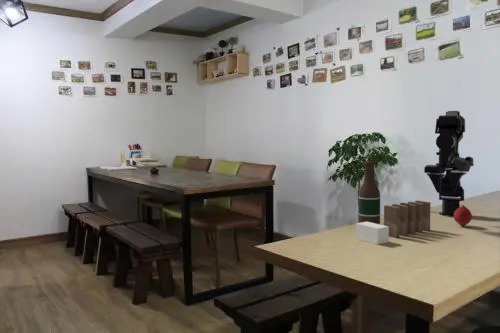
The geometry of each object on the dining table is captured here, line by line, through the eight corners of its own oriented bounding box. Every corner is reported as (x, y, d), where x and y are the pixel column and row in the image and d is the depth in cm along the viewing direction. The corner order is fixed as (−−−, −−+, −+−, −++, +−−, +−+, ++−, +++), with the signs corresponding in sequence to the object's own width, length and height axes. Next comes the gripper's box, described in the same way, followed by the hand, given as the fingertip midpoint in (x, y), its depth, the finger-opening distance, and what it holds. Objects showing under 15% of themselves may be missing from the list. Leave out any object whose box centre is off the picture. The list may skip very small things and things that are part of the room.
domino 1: (387, 234, 141) (387, 205, 140) (399, 237, 137) (399, 207, 136) (383, 235, 140) (384, 205, 139) (396, 238, 136) (396, 207, 135)
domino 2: (395, 232, 143) (395, 203, 142) (407, 235, 139) (407, 205, 138) (391, 233, 142) (392, 204, 141) (404, 236, 138) (404, 206, 137)
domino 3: (402, 231, 145) (403, 202, 144) (415, 234, 141) (415, 204, 140) (399, 231, 144) (400, 203, 143) (412, 234, 140) (412, 205, 139)
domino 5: (417, 228, 149) (418, 200, 148) (430, 230, 145) (430, 202, 144) (414, 228, 148) (415, 200, 147) (427, 231, 144) (427, 202, 143)
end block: (366, 236, 138) (366, 221, 138) (388, 242, 131) (388, 226, 130) (355, 238, 136) (355, 223, 136) (377, 244, 128) (377, 228, 128)
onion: (467, 224, 153) (468, 203, 153) (474, 228, 147) (475, 205, 147) (451, 224, 154) (451, 203, 153) (457, 228, 148) (457, 205, 147)
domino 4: (410, 229, 147) (410, 201, 146) (422, 232, 143) (423, 203, 142) (407, 230, 146) (407, 202, 145) (419, 233, 142) (420, 203, 141)
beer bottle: (355, 227, 151) (356, 161, 149) (360, 223, 158) (361, 160, 156) (377, 229, 148) (378, 162, 146) (382, 225, 154) (382, 160, 152)
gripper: (452, 150, 141) (451, 196, 142) (483, 149, 151) (482, 192, 152) (423, 149, 151) (422, 192, 152) (455, 149, 160) (454, 189, 161)
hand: (446, 191), depth 154 cm, fingers open, 9 cm apart
